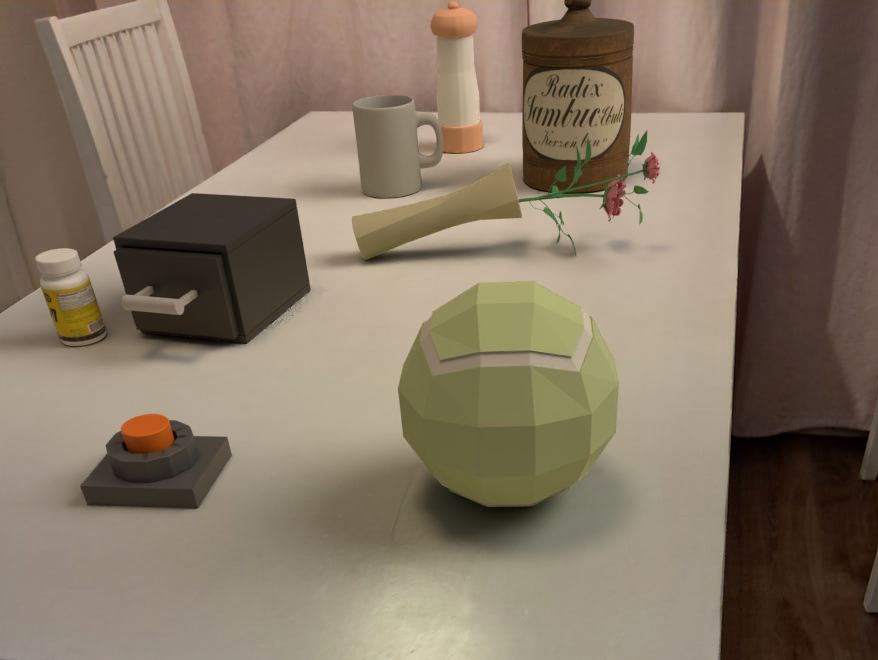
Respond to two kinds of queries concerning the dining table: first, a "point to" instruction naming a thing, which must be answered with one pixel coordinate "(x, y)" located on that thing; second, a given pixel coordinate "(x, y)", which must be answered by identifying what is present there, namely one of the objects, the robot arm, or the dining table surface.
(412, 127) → the mug
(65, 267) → the supplement bottle
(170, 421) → the control block
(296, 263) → the black cabinet
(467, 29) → the pepper shaker
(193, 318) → the drawer
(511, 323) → the tennis ball
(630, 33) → the wooden container
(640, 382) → the dining table surface
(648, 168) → the flower vase
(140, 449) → the button
